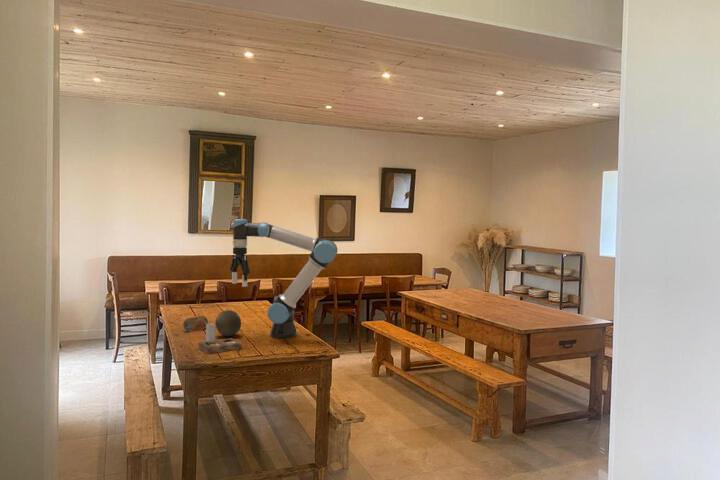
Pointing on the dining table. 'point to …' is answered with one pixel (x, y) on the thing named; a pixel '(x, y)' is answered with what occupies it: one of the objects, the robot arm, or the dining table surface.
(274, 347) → the dining table surface
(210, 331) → the plug
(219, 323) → the dark grey round ball
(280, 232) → the robot arm
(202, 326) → the tin
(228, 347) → the socket board
